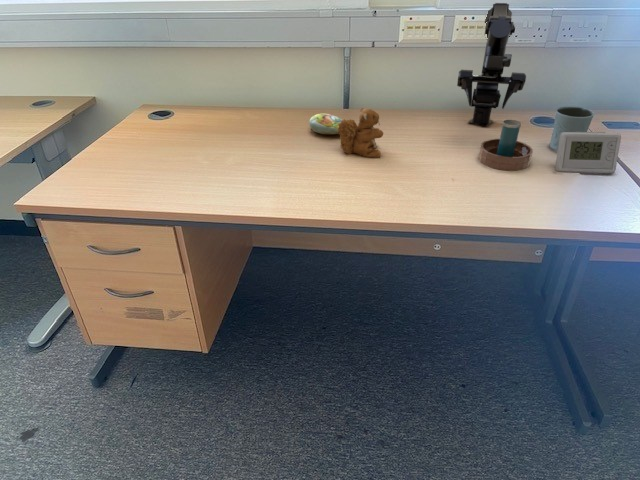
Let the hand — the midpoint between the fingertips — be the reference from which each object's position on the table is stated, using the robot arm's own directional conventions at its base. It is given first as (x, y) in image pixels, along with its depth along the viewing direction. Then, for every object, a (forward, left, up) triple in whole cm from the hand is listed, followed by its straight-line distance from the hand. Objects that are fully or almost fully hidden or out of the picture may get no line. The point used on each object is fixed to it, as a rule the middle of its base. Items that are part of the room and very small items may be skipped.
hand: (486, 106), depth 134 cm
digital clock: (-4, +29, -14) cm, 32 cm away
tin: (+3, +9, -13) cm, 16 cm away
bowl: (+3, +9, -14) cm, 17 cm away
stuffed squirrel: (+21, -30, -14) cm, 39 cm away
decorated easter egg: (+13, -49, -14) cm, 53 cm away
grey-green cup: (-17, +21, -14) cm, 30 cm away
